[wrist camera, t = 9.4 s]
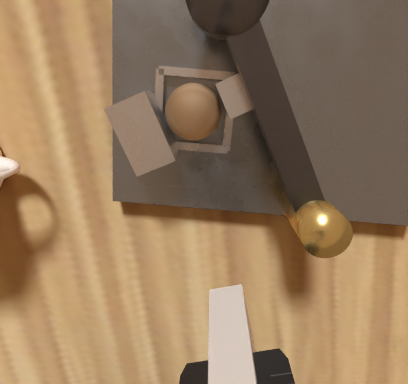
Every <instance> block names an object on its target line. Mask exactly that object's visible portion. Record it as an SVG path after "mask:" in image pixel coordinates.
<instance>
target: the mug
mask: <svg viewBox="0 0 408 384" xmlns="http://www.w3.org/2000/svg"><path fill="white" fill-rule="evenodd" d="M20 169H21V167H20V165H19V163H18V162H16V161H14V160H12V159H9V158H6V157H3V155H2V152H1V150H0V188H1V186H2V183H3V179H5V178H7V177H9V176H11V175H13V174H15V173H17V172H19V171H20Z"/></svg>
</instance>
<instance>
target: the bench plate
mask: <svg viewBox="0 0 408 384" xmlns="http://www.w3.org/2000/svg"><path fill="white" fill-rule="evenodd" d="M260 22H261V25H262V27H263V30H264V33H265V36H266V38H267V41H268V44H269V47H270V50H271V52H272V55H273V58H274V61H275V63H276V66H277V69H278V72H279V74H280V77H281V80H282V83H283V86H284V88H285V91H286V94H287V97H288V99H289V102H290V105H291V108H292V110H293V113H294V116H295V119H296V122H297V124H298V127H299V130H300V133H301V135H302V138H303V141H304V144H305V147H306V149H307V152H308V155H309V158H310V160H311V163H312V166H313V169H314V171H315V174H316V177H317V180H318V183H319V185H320V188H321V191H322V194H323V196H324V198H325V199H326V200H327V201H329V202H330V203H331V204H332V205H333V206H334V207H335V208H336V209H337V210H338V211H339V212H340V213H341V214H342V215H343V216H344V217H346V218H347V219H348V221H357V222H368V223H380V224H392V225H404V226H408V0H270V1H269V4H268V6H267V8H266V10H265V12H264V14H263V15H262V17H261V18H260ZM236 74H238V71H237V68H236V65H235V63H234V60H233V58H232V55H231V53H230V50H229V48H228V45H227V43H226V40H220V39H216V38H213V37H210V36H208V35H207V34H205V33H204V32H202V31H201V30H200V29H199V28H198V27H197V26H196V24H195V23H194V21H193V20H192V18H191V16H190V14H189V11H188V8H187V4H186V1H185V0H113V105H112V106H109V107H107V108H105V109H104V110H105V112H106V114H107V116H108V119H109V121H110V123H111V125H112V127H113V201H120V202H132V203H144V204H156V205H167V206H179V207H191V208H203V209H215V210H227V211H238V212H250V213H262V214H274V215H285V214H284V212H283V210H282V209H281V206H280V195H281V193H282V191H283V190H284V187H283V185H282V182H281V180H280V177H279V175H278V172H277V170H276V167H275V164H274V162H273V159H272V157H271V154H270V152H269V149H268V147H267V144H266V142H265V139H264V137H263V134H262V131H261V129H260V126H259V124H258V121H257V119H256V116H255V114H254V111H253V109H252V110H250V111H248V112H246V113H244V114H241V115H239V116H237V117H235V118H232V119H229V117H228V115H227V113H226V111H225V108H224V106H223V103H222V101H221V99H220V96H219V94H218V91H217V89H216V87H215V84H217V83H219V82H221V81H223V80H225V79H227V78H229V77H231V76H234V75H236ZM187 83H199V84H202V85H205V86H206V87H208V88H210V89H211V90H212V91H213V92H214V93H215V95H216V96H217V98H218V100H219V102H220V106H221V117H220V121H219V124H218V126H217V127H216V129H215V130H214V131H213V132H212V133H211V134H210V135H209V136H207V137H205V138H203V139H200V140H187V139H184V138H181V137H180V136H178V135H177V134H175V133H174V132H173V131H172V129H171V128H170V127H169V125H168V123H167V120H166V115H165V108H166V103H167V100H168V98H169V96H170V95H171V93H172V92H173V91H174V90H175V89H176V88H178V87H180V86H181V85H184V84H187Z"/></svg>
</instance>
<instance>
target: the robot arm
mask: <svg viewBox="0 0 408 384" xmlns="http://www.w3.org/2000/svg"><path fill="white" fill-rule="evenodd" d="M179 384H295V382H294V379H293V375H292V371H291V368H290V364H289V361H288V358H287V357H286V356H285V355H284V353H283V352H282V351H281V350H280V349H273V350H266V351H260V352H255V349H254V342H253V336H252V331H251V326H250V321H249V316H248V312H247V307H246V302H245V297H244V293H243V288H242V284H240V285H234V286H228V287H222V288H217V289H211V290H210V296H209V353H208V360H207V361H201V362H194V363H188V364H186V366H185V368H184V370H183V372H182V374H181V375H180V383H179Z"/></svg>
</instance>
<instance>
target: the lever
mask: <svg viewBox="0 0 408 384" xmlns="http://www.w3.org/2000/svg"><path fill="white" fill-rule="evenodd" d="M185 1H186V4H187V8H188V11H189V14H190V16H191V18H192V20H193V21H194V23H195V24H196V26H197V27H198V28H199V29H200V30H201V31H202V32H204V33H205V34H207V35H208V36H210V37H213V38H216V39H220V40H226V43H227V45H228V48H229V50H230V53H231V55H232V58H233V60H234V63H235V65H236V68H237V71H238V74H236V75H234V76H231V77H229V78H227V79H225V80H223V81H221V82H219V83H217V84H215V87H216V89H217V91H218V94H219V96H220V99H221V101H222V103H223V106H224V108H225V111H226V113H227V115H228V117H229V119H232V118H235V117H237V116H239V115H241V114H244V113H246V112H248V111H250V110H252V109H253V111H254V114H255V116H256V119H257V121H258V124H259V126H260V129H261V131H262V134H263V137H264V139H265V142H266V144H267V147H268V149H269V152H270V154H271V157H272V159H273V162H274V164H275V167H276V170H277V172H278V175H279V177H280V180H281V182H282V185H283V187H284V190H283V191H282V193H281V195H280V206H281V209H282V210H283V212H284V214H285V215H286V217H287V219H288V220H289V222H290V224H291V225H292V227H293V229H294V230H295V232H296V234H297V235H298V237H299V239H300V241H301V242H302V244H303V246H304V247H305V249H306V250H307V251H308V252H309V253H310V254H312V255H313V256H316V257H319V258H330V257H334V256H337V255H339V254H340V253H342V252H343V251H344V250H345V249H346V248H347V247H348V246H349V244H350V242H351V240H352V236H353V230H352V226H351V224H350V222H349V221H348V219H347V218H346V217H344V216H343V215H342V214H341V213H340V212H339V211H338V210H337V209H336V208H335V207H334V206H333V205H332V204H331V203H330V202H329V201H327V200H326V199H325V198H324V196H323V194H322V191H321V188H320V185H319V183H318V180H317V177H316V174H315V171H314V169H313V166H312V163H311V160H310V158H309V155H308V152H307V149H306V147H305V144H304V141H303V138H302V135H301V133H300V130H299V127H298V124H297V122H296V119H295V116H294V113H293V110H292V108H291V105H290V102H289V99H288V97H287V94H286V91H285V88H284V86H283V83H282V80H281V77H280V74H279V72H278V69H277V66H276V63H275V61H274V58H273V55H272V52H271V50H270V47H269V44H268V41H267V38H266V36H265V33H264V30H263V27H262V25H261V22H260V18H261V17H262V15H263V14H264V12H265V10H266V8H267V6H268V4H269V1H270V0H185Z"/></svg>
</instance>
